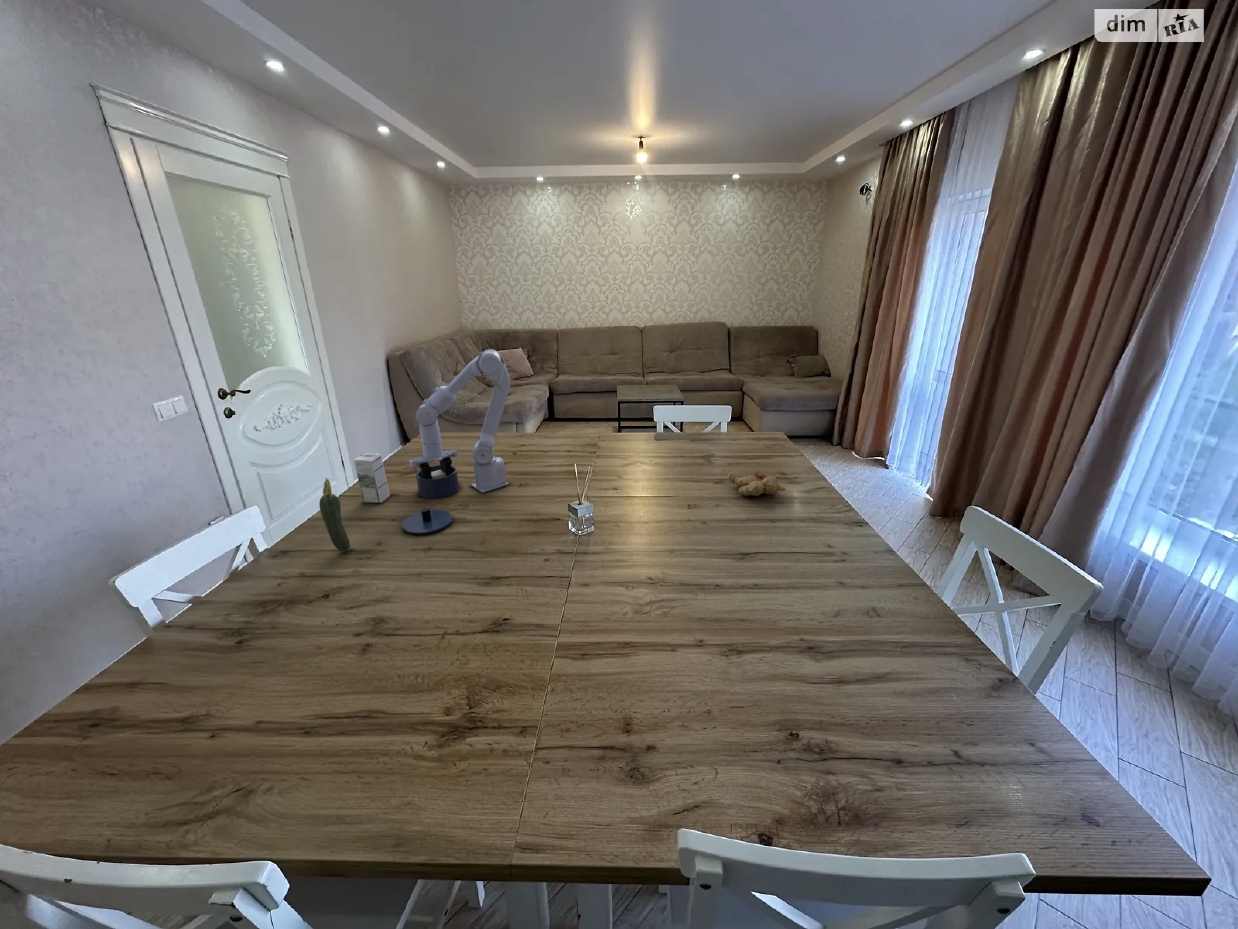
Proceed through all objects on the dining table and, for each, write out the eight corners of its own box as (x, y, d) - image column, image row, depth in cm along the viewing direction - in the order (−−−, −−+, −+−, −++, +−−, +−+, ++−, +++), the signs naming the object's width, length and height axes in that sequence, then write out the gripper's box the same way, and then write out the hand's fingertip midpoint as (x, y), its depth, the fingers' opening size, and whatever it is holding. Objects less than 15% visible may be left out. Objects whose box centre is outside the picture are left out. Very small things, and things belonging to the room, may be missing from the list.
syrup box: (390, 495, 153) (382, 452, 147) (380, 504, 147) (370, 459, 142) (373, 495, 153) (364, 452, 148) (362, 503, 148) (352, 459, 142)
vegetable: (343, 558, 119) (324, 484, 112) (328, 556, 120) (308, 483, 113) (355, 548, 123) (338, 477, 116) (340, 547, 124) (322, 475, 117)
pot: (448, 479, 164) (446, 461, 162) (465, 490, 156) (463, 472, 154) (413, 490, 157) (409, 471, 154) (428, 502, 148) (425, 482, 146)
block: (442, 482, 158) (440, 469, 157) (447, 486, 156) (445, 473, 154) (429, 485, 156) (427, 473, 154) (434, 489, 153) (432, 476, 151)
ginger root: (791, 500, 145) (787, 475, 142) (738, 511, 147) (734, 487, 144) (776, 480, 160) (773, 458, 157) (729, 490, 161) (724, 469, 159)
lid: (442, 508, 144) (440, 494, 142) (460, 525, 135) (458, 510, 133) (396, 522, 136) (393, 508, 134) (412, 541, 127) (409, 525, 125)
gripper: (412, 450, 143) (420, 492, 148) (459, 440, 152) (464, 479, 157) (404, 445, 148) (411, 485, 153) (449, 434, 157) (455, 473, 162)
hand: (438, 482), depth 155 cm, fingers closed on block, 4 cm apart
